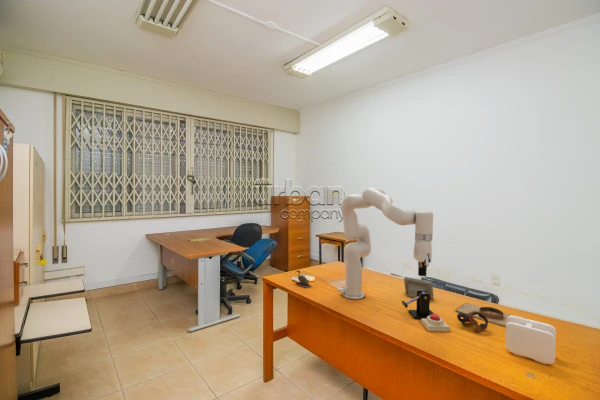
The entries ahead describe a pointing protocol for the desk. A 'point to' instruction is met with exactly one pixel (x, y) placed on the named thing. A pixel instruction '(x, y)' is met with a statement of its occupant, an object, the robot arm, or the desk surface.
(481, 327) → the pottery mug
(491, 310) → the board
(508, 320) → the cable organizer
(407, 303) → the lever
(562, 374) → the desk surface
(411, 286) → the digital clock
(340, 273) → the desk surface
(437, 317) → the button
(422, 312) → the bracket
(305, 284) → the figurine
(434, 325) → the control block
